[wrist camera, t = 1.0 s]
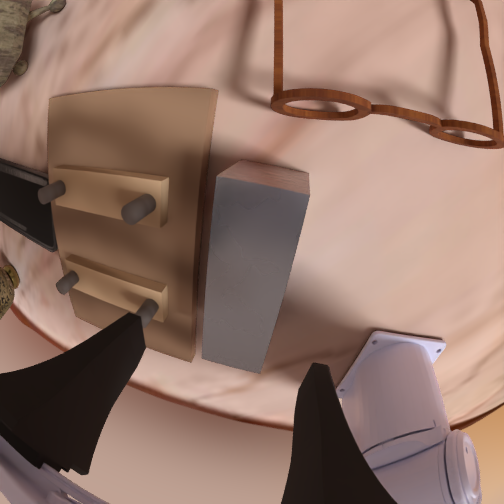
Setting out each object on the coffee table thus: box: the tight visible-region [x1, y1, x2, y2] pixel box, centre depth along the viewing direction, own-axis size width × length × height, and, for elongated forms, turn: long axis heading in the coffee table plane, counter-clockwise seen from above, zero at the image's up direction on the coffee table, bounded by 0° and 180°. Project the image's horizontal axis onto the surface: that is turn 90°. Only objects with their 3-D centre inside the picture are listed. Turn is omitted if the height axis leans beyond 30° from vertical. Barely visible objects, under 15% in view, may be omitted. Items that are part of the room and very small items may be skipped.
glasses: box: [271, 0, 504, 149], centre depth 8 cm, size 13×13×5 cm
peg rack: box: [38, 87, 218, 363], centre depth 18 cm, size 22×14×4 cm, turn 171°
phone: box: [0, 158, 58, 252], centre depth 20 cm, size 8×1×15 cm
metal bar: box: [202, 160, 310, 374], centre depth 16 cm, size 12×4×5 cm, turn 171°
